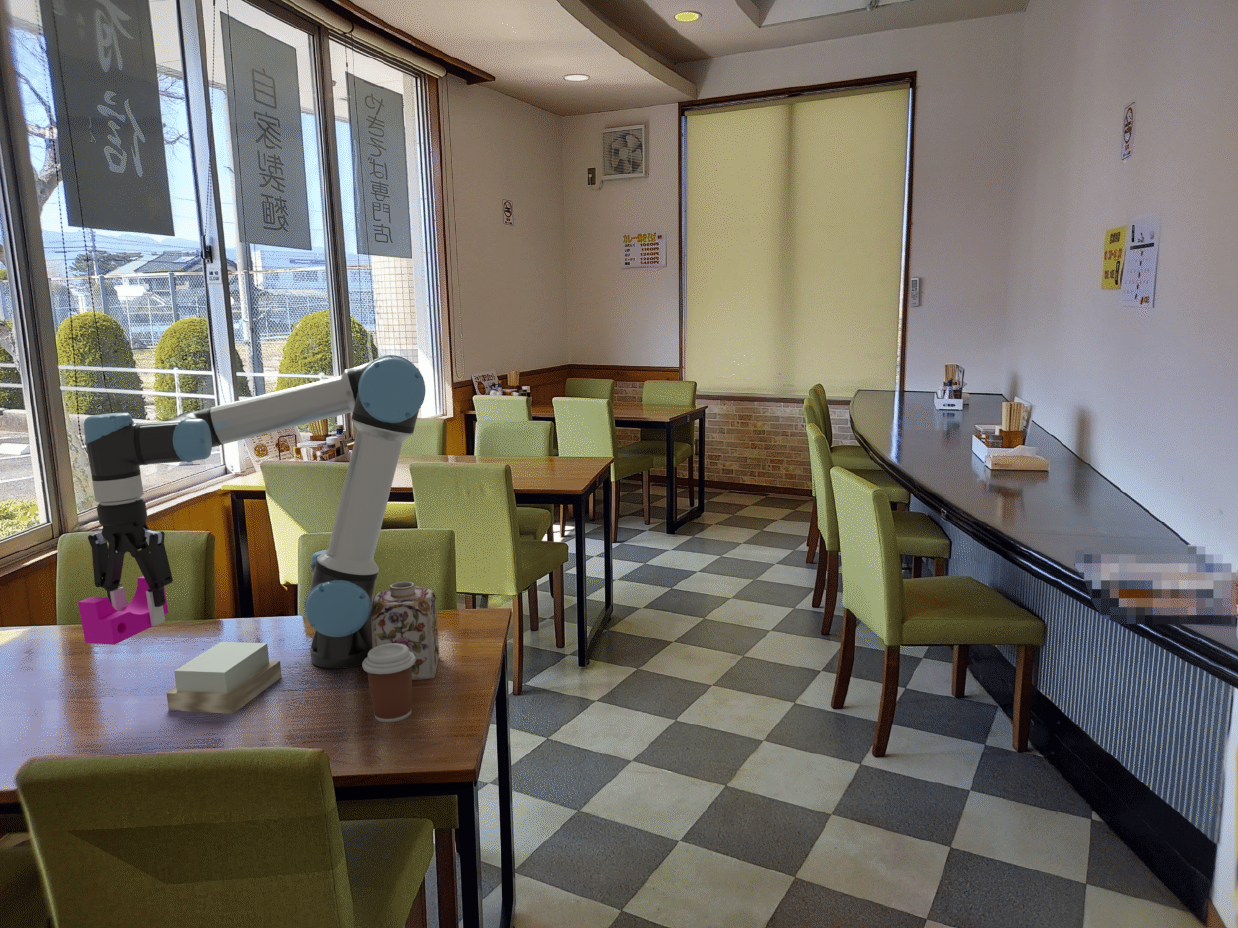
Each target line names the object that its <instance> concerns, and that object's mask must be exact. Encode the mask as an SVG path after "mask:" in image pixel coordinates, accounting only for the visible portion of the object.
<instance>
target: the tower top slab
mask: <svg viewBox="0 0 1238 928" xmlns="http://www.w3.org/2000/svg"><path fill="white" fill-rule="evenodd" d="M268 647H269V646H268V643H267V642H265V643H264V642H261V643H260V642H240V641H239V642H235V641H234V642H233V641H231V642H230V641H220V642H218V643H216V644H215V645H213V646H212V647H210V648H209V649H207V650H205V651H204V652H202V653H200V654H198V655H197V656H196V657H194V658H192V659H191V660H189V661H187V662H186V663H184V664H183V665H181V666H179V667H178V668H176V669H174V679H175V687H176V689H177V691H182V692H207V693H228V692H229V691H231V690H232V689H233V688H235V687H236V686H238V685H239V684H240V683H242V682H243V681H244V680H246V679H247V678H249V677H250V676H251V675H253V674H254V673H255V672H257V671H258V670H260V669H261V668H262V667H264V666H265V665H266V664H268V663H269V660H270V658H269V657H270V655H269V649H268Z"/></svg>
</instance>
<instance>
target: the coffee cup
mask: <svg viewBox="0 0 1238 928" xmlns="http://www.w3.org/2000/svg"><path fill="white" fill-rule="evenodd" d="M415 661H416V657H415V655H414V654H413V653H412V652H410V651H409V648H408V647H407V646H406V645H403V644H398V643H391V644H384V645H380V646H377V647H374V648H373V649H371V650H370V651H369V652H368V657H367V658H365V660H364V661H363V663H362V665H361V666H362V669H363V671H364V672H366V673H367V679H368V685H369V690H370V696H371V702H372V703H371V704H372V707H373V713H374V718H375V721H378V722H381V723H395V722H399V721H403V720H405V719H407V718H408V717H409V716H411V715H412V712H413V710H412V708H413V707H412V703H413V702H412V701H413V698H412V697H413V696H412V695H413V693H412V692H413V688H412V687H413V680H412V665H414V663H415Z"/></svg>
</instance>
